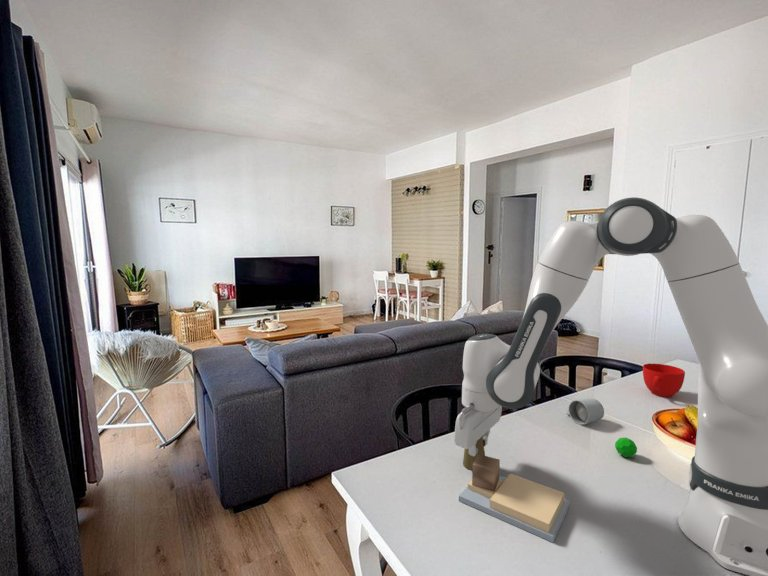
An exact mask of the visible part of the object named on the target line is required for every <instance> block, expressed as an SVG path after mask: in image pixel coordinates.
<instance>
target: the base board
mask: <svg viewBox="0 0 768 576" xmlns="http://www.w3.org/2000/svg"><path fill="white" fill-rule="evenodd" d="M458 501H459V502H460V503H462V504H465V505H467V506H469V507H472V508H473V509H476V510H479V511H481V512H484V513H486V514H488V515H490V516H492V517H494V518H497V519H499V520H501V521H504V522H506V523H508V524H510V525H512V526H515V527H517V528H520V530H521V529H522V530H523V531H526V532H529V533H530V534H533V535H535V536H537V537H539V538H542V539H544V540H547V541H549V542H551V543H554V541H555V540H556V536H557V535H558V532H559V530H560V528H561V526H562V524H563V522H564V519H565V518H566V514H567V512H568V510H569V509H570V501H569V500H568V499H565V493H564V492H562V491H559V490H557V489H555V488H551V487H548V486H546V485H544V484H540V483H537V482H534V481H532V480H529V479H527V478H524V477H521V476H519V475H516V474H513V473H509V474H508V475H507V477H505V476H503V475H500V474H499V481H498V484H497V486H496V489H495V491H494V492H493V491H490V490H487V489H483V488H480V487H476V486H473V485H472V479H471V480H470V481H469V482H468V483H467V486H466V487H465V488H464V489H463V490H462V492H460V494H459V495H458Z"/></svg>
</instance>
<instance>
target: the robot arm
mask: <svg viewBox="0 0 768 576" xmlns="http://www.w3.org/2000/svg"><path fill="white" fill-rule="evenodd" d="M640 254H641V255H642V254H644V255H645V254H649V255H652V257H654V258H655V259H657V261H658V262H659V264H660V266H661V268H662V270H663V273H664V275H665V279H666V281H667V283H668V286H669V289H670V292H671V294H672V296H673V300H674V301H675V304H676V307H677V309H678V312H679V314H680V317H681V319H682V322H683V324H684V327H685V329H686V332H687V334H688V337H689V340H690V342H691V343H692V347H693V349H694V351H695V354H696V357H697V359H698V377H697V378H698V379H697V380H698V381H697V383H698V384H697V425H696V436H695V438H696V439H695V449H694V450H695V451H694V456H693V457H692V458H691V461H690V462H691V463H690V466H689V472H688V475H689V476H688V483H689V491H688V492H689V493H688V495H687V500H686V502H685V505H684V508H683V510H682V512H681V514H680V515H679V517H678V521H677V522H678V526H679V528H680V530H681V531H682V532H683V534H684V535H685V536H686V537H687V538H688V539H689V540H690V541H691V542H693V544H696V546H697V547H699V548H701V549H702V550H703V551H705V552H706V553H708V554H709V555H710V556H711V557H712V558H713V559H714V560H715V561H716V562H717V563H718V564H719V565H720V566H722V567H723V568H724V569H727V570H729V571H732V572H736V573H739V574H743V575H746V576H768V323H767V322H766V321H767V320H766V319H765V318H764V315H763V314H762V313H761V310H760V309H759V306H758V305H757V302H756V300H755V297H754V294H753V292H752V290H751V288H750V285H749V283H748V281H747V278H746V274H745V273H744V271H743V269H742V265H741V263H740V261H739V259H738V257H737V255H736V253H735V250H734V249H733V246H732V244H731V243H730V241H729V239H728V237H727V236H726V235H725V232H724V231H723V230H722V229H721V227H720V226H719V225H718V223H717V222H716V221H715V219H713V218H711V217H710V216H709V215H708V216H707V215H705V214H704V215H703V214H687V215H683V216H680V217H677V218H676V217H675V216H674V215H672V214H670V213H669V212H668V211H666V210H665V209H663V208H662V207H660V206H659V205H657V204H656V203H655V202H653V201H651V200H650V199H646V198H643V197H637V196H636V197H632V196H631V197H626V198H623V199H619V200H616V201H614V202H613V203H611V204H610V205H609V206H608V207H607V208H606V209H605V210H604V211H603V212H602V214H601V215H600V217H599V219H598V220H596V221H594V222H585V221H582V220H568V221H564V222H563V223H561V224H560V225H558V226H557V228H556V229H555V231H554V232H553V234H552V235H551V236H550V239H549V240H548V241H547V243H546V244H545V246H544V248H543V250H542V253H541V255H540V257H539V258H538V261H537V263H536V266H535V269H534V271H533V275H532V277H531V280H530V283H529V284H530V286H529V288H528V295H527V299H526V304H525V308H524V313H523V316H522V319H521V322H520V324H519V327H518V329H517V331H516V333H515V335H514V338H513V340H512V341H511V345H509V343H508V344H507V343H506V342H505V341H503V340H502V339H500V338H499V336H497V335H495V334H491V333H481V334H480V333H479V334H476V335H473V336H471V337H469V338H468V339H467V340H466V341H465V344H464V346H463V347H464V349H463V354H462V355H463V356H462V372H463V380H462V382H461V383H462V384H461V385H462V386H461V404H462V406H463V407H464V408H462V409H461V412H460V413H459V414H458V415H457V417H456V418H455V419H456V420H455V426H454V439H453V440H454V444H455V445H456V446H457V447H460V448H463V449H464V450H465V449H469V455H471V456H475V455H476V454H477V453H478V448H477V447H476V443H477V440H479V439H480V438H481V437H482V436H483V435H484V436H483V445H484V447H486V446H487V445H488V440H489V437H490V432H491V429H492V428H493V427H495V425H496V424H498V423H499V422H500V420H501V416H502V413H503V412H502V411H503V410H502V408H505V409H511V410H520V409H521V408H524V407H526V406H527V405H529V404H530V403H531V402H532V399H533V397H534V395H535V394H534V393H535V390H536V386H537V383H538V381H539V379H540V375H541V366H540V363H539V361H540V359H541V356H542V354H543V352H544V349H545V347H546V346H547V344H548V341H549V339H550V336H551V334H552V333H553V332H554V331H555V328H556V327H557V326H558V325H559V323H560V322H561V321H562V319H564V317H565V316H566V315H567V314H568V313H569V311H570V310H571V309H572V308H573V307H574V305H575V303H576V302H577V301H578V300H579V298H580V297H581V295H582V294H583V292H584V290H585V288H586V286H587V284H588V283H589V280H590V278H591V276H592V274H593V272H594V269H595V268H596V266H597V264H598V263H599V261H600V260H601V259H602V258H603V257H604V256H606V255H618V256H623V257H624V256H625V257H626V256H627V257H630V256H632V257H633V256H638V255H640Z"/></svg>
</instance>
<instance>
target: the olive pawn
mask: <svg viewBox="0 0 768 576" xmlns="http://www.w3.org/2000/svg"><path fill="white" fill-rule="evenodd" d="M483 436H484V435H483ZM483 436H482V437H481V438H480V439H479V440H477V443H476V447H477V448H478V453H477V454H476V455H475V456H471V455H469V449H465V448H464V450H463V451H464V452H463V459H462V465H463V467H464V468H465V469H466V470H468V471H471V472H472V467H473V463H474V461H475V459H476V457H477V455H478V454H480V455H484V456H486V452H485V446H484V445H483Z"/></svg>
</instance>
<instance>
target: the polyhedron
mask: <svg viewBox="0 0 768 576" xmlns="http://www.w3.org/2000/svg"><path fill="white" fill-rule="evenodd" d="M614 444H615V445H614V448H615V449H616V451H617V454H619V455H621V456H622V457H624V458H633V457H634V456H635V455H636V454H637V452H638V447H637V445H636V443H635V442H634V441H633V440H632V439H631V438H629V437H619V438H618V439H617V440H616V441H615V443H614Z"/></svg>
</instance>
